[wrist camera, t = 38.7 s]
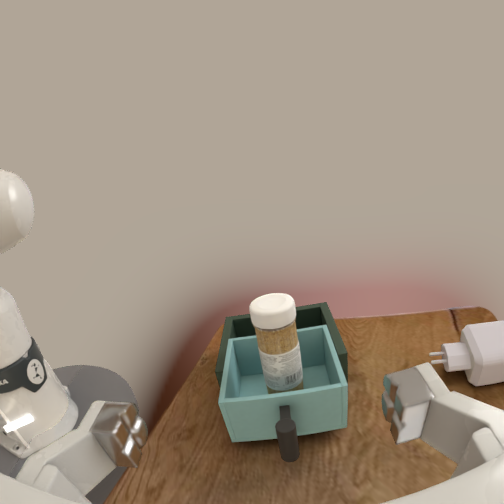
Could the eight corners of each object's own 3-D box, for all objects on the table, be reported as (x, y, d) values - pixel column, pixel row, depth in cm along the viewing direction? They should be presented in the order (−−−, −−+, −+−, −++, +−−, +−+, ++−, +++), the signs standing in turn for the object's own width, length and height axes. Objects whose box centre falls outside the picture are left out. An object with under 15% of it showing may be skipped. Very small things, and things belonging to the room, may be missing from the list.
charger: (423, 352, 39) (509, 342, 34) (431, 395, 31) (528, 379, 26) (427, 325, 38) (515, 315, 33) (438, 366, 30) (539, 351, 24)
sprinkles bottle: (295, 381, 38) (282, 287, 34) (312, 402, 34) (302, 302, 30) (262, 394, 36) (242, 299, 33) (276, 416, 32) (257, 317, 28)
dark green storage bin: (225, 405, 38) (214, 371, 36) (233, 347, 51) (225, 316, 50) (347, 388, 37) (347, 352, 35) (328, 333, 50) (326, 301, 48)
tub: (229, 473, 26) (212, 435, 24) (238, 377, 42) (228, 338, 40) (355, 457, 25) (358, 416, 23) (328, 364, 41) (326, 324, 39)
